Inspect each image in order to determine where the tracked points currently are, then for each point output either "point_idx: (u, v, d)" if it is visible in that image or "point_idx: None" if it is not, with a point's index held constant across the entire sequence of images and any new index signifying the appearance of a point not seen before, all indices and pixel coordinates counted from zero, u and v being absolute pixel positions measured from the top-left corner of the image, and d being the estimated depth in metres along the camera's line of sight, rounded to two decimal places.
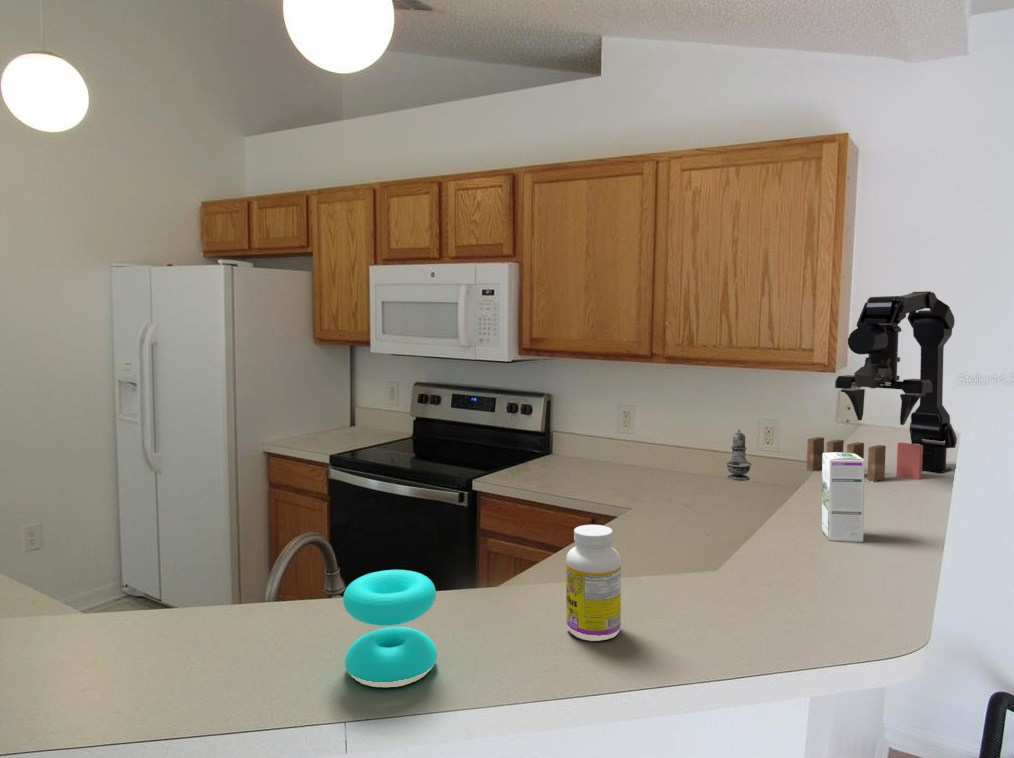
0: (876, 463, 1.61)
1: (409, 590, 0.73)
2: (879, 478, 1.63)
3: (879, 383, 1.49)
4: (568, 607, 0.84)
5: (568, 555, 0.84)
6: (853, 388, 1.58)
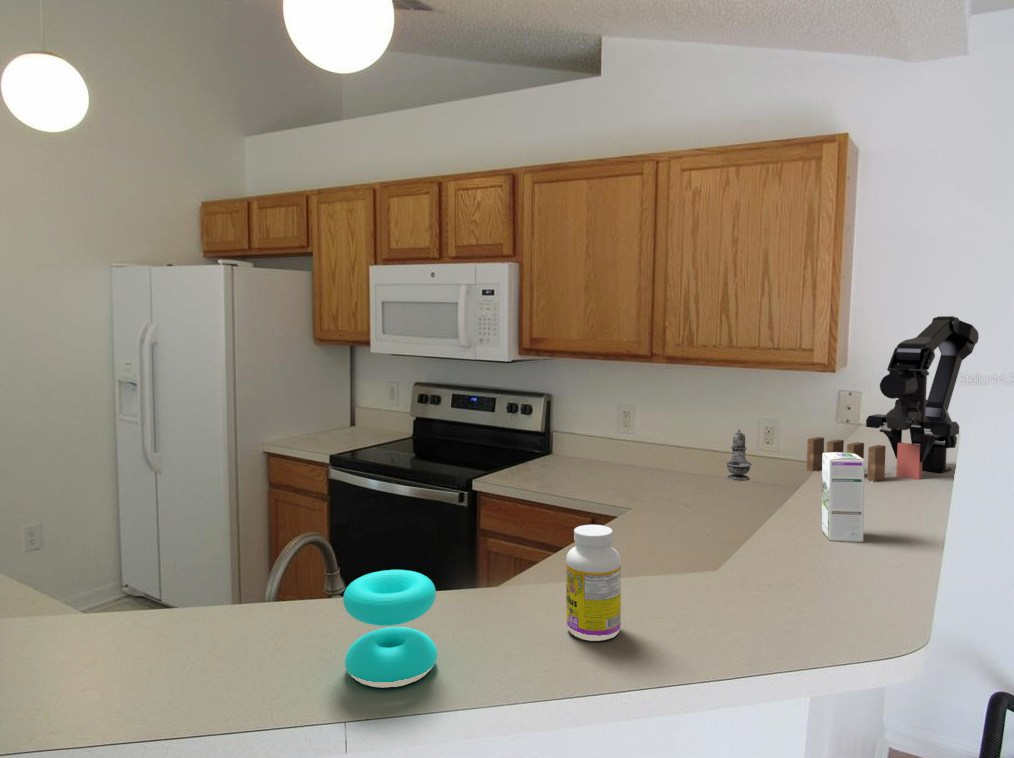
0: (876, 463, 1.61)
1: (409, 590, 0.73)
2: (879, 478, 1.63)
3: (909, 425, 1.59)
4: (568, 607, 0.84)
5: (568, 555, 0.84)
6: (891, 428, 1.67)
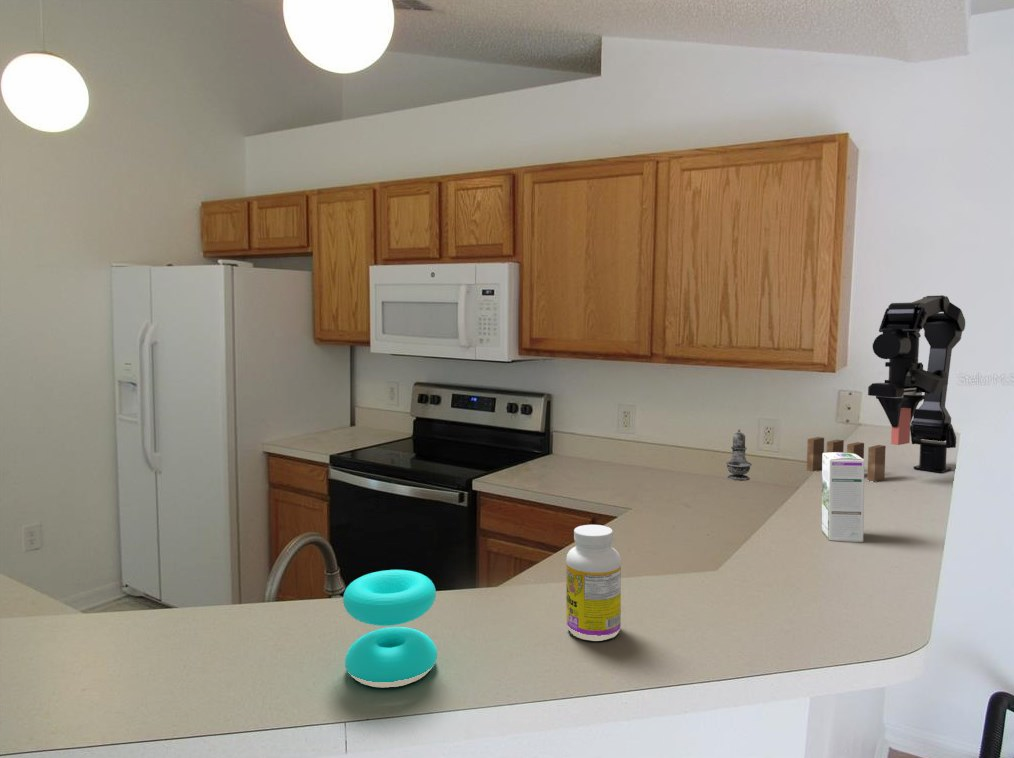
0: (876, 463, 1.61)
1: (409, 590, 0.73)
2: (879, 478, 1.63)
3: None
4: (568, 607, 0.84)
5: (568, 555, 0.84)
6: None
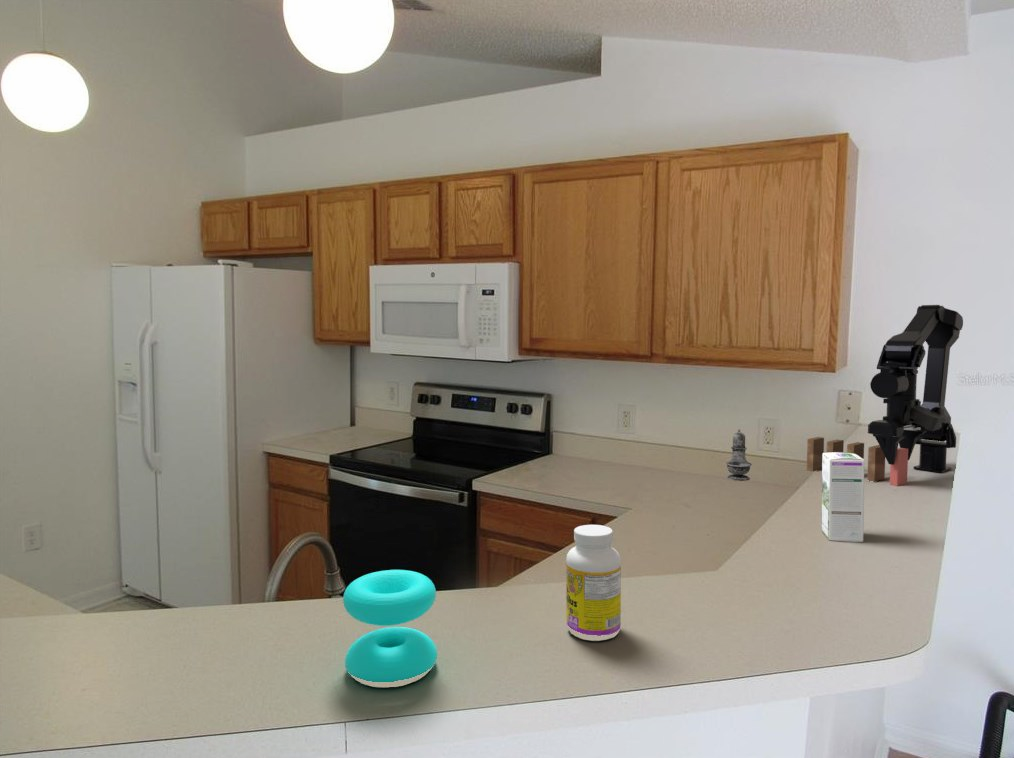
0: (876, 463, 1.61)
1: (409, 590, 0.73)
2: (879, 478, 1.63)
3: None
4: (568, 607, 0.84)
5: (568, 555, 0.84)
6: None
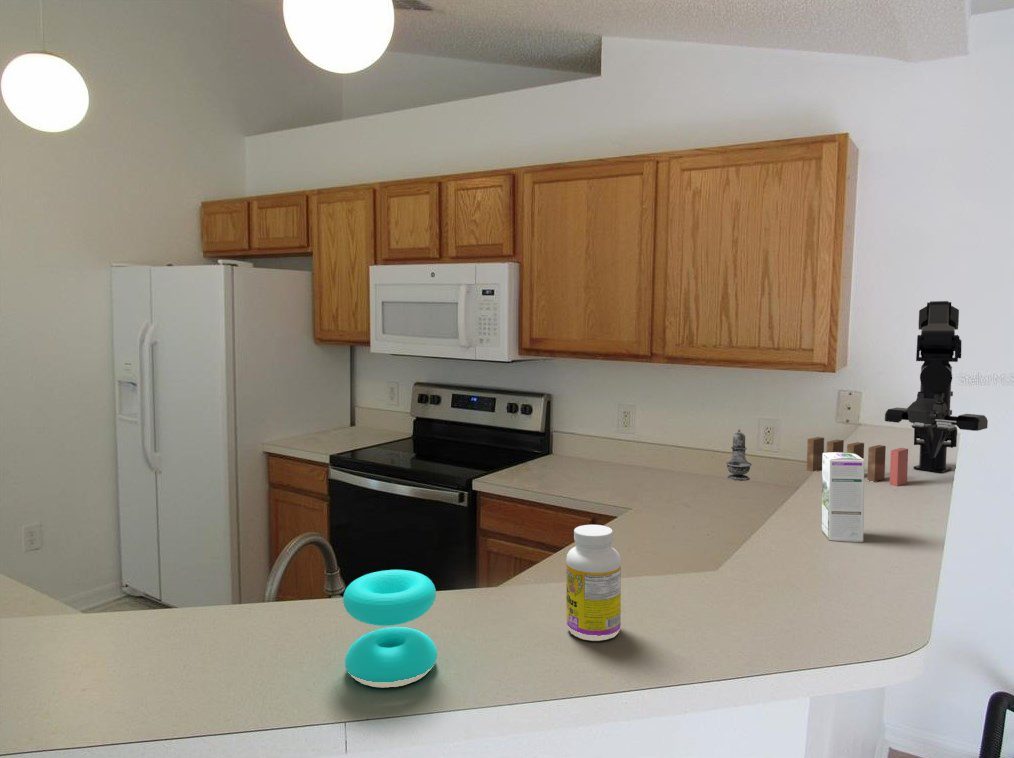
0: (876, 463, 1.61)
1: (409, 590, 0.73)
2: (879, 478, 1.63)
3: (933, 419, 1.47)
4: (568, 607, 0.84)
5: (568, 555, 0.84)
6: (925, 424, 1.52)
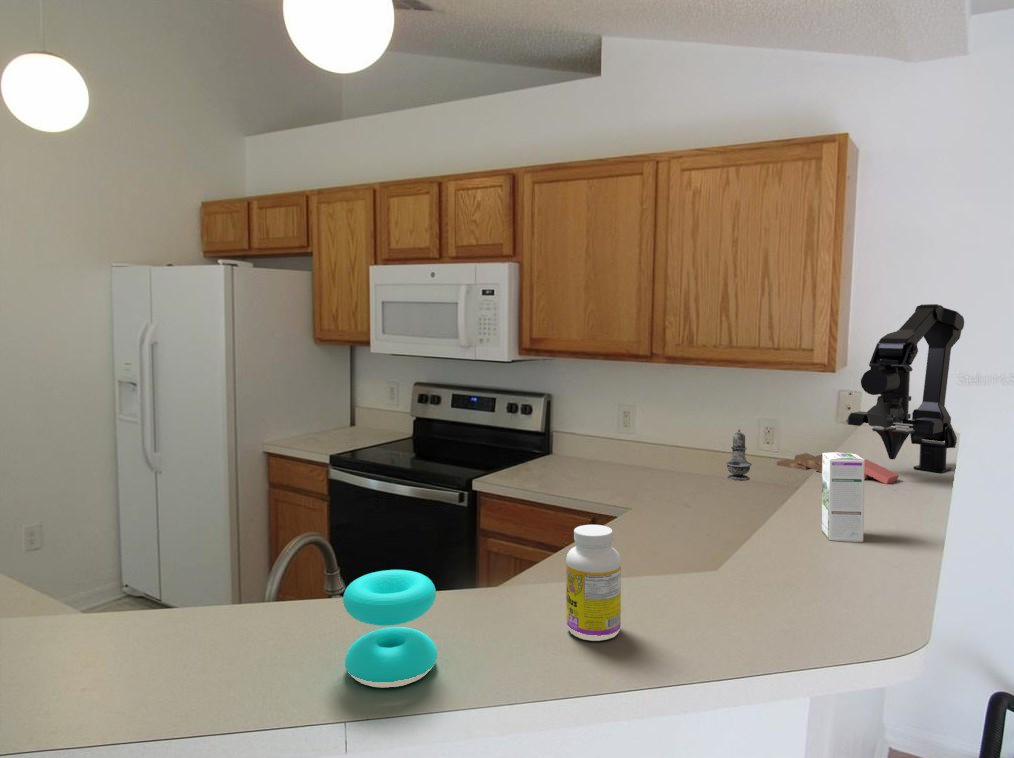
0: None
1: (409, 590, 0.73)
2: None
3: (891, 422, 1.53)
4: (568, 607, 0.84)
5: (568, 555, 0.84)
6: (885, 427, 1.59)
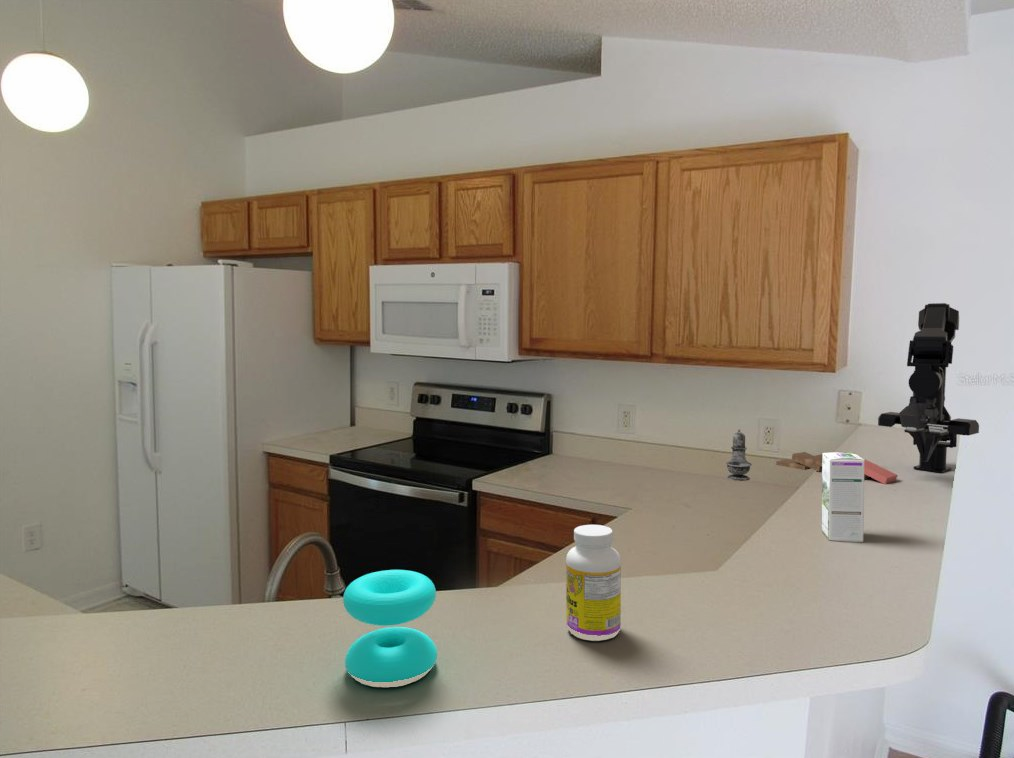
0: None
1: (409, 590, 0.73)
2: None
3: (925, 424, 1.48)
4: (568, 607, 0.84)
5: (568, 555, 0.84)
6: (917, 428, 1.54)
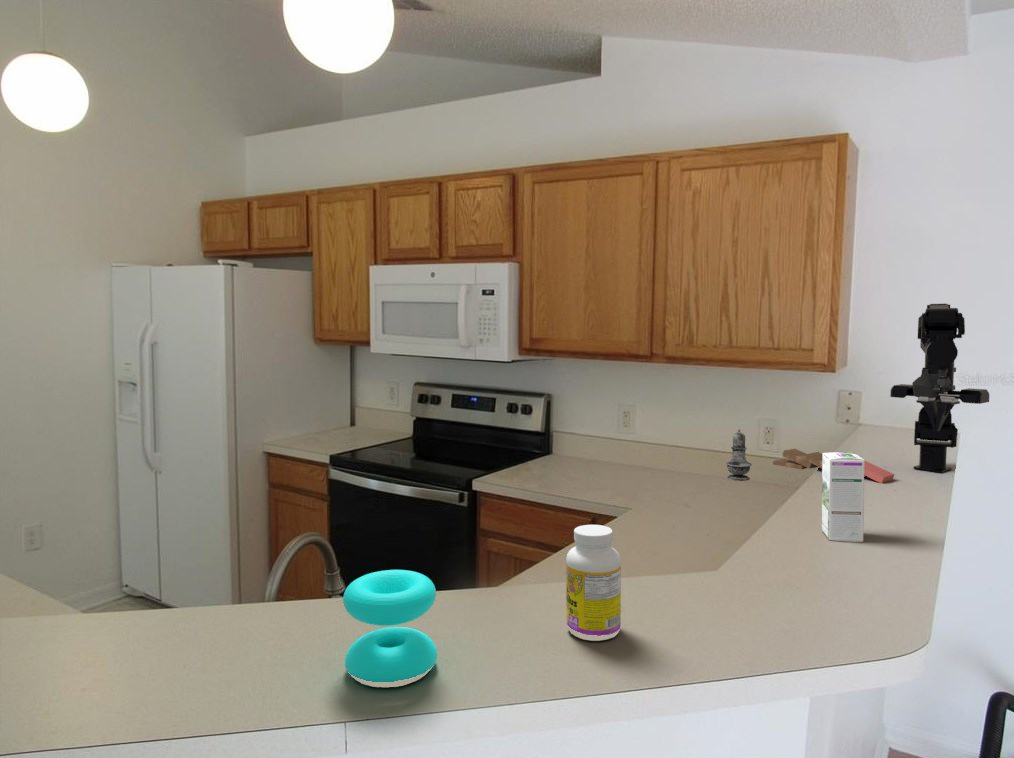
0: None
1: (409, 590, 0.73)
2: None
3: (937, 393, 1.53)
4: (568, 607, 0.84)
5: (568, 555, 0.84)
6: (929, 399, 1.59)
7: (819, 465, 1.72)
